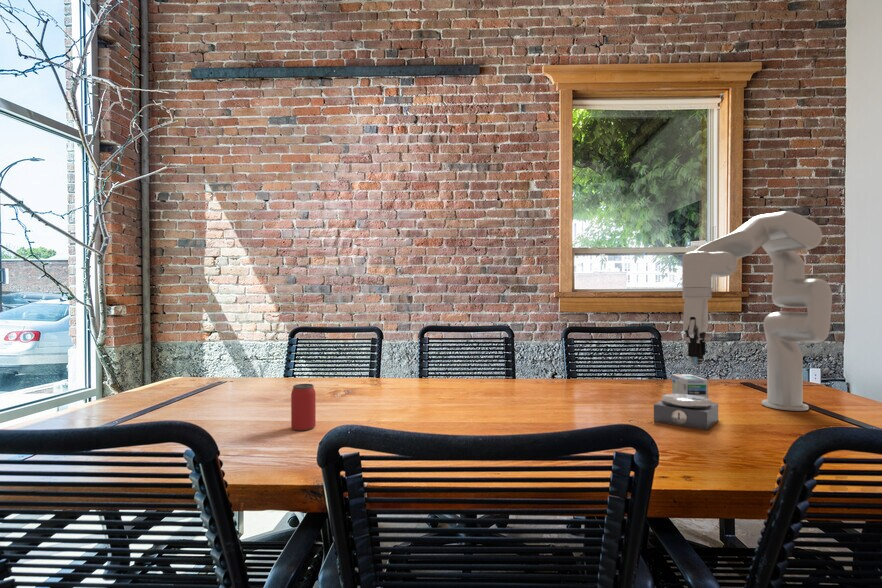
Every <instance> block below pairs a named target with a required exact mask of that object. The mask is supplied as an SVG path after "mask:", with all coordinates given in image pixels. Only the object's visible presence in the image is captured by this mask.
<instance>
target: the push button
mask: <svg viewBox="0 0 882 588" xmlns="http://www.w3.org/2000/svg"><path fill="white" fill-rule="evenodd" d="M694 332H698V330H695V331H694ZM684 333H685V335H686V338H688V337H689V333H688V332H684ZM706 334H707V332H706V331H705V332H702V333H700V340H702V338H705V339H706ZM688 357H689V356H688ZM688 361H689V363H691V364H694V365H702V364H703V361H704V355H702V351H701V357H689V360H688Z"/></svg>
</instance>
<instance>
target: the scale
mask: <svg viewBox="0 0 882 588" xmlns="http://www.w3.org/2000/svg"><path fill="white" fill-rule="evenodd" d="M718 421H719V403H718V402H712V401H711V406H710V407H705V408H689V407H680V406H674V405H670V404H667V403H664V402H663V401H662V399H661V400H659V401H657V402H656V403H654V404H653V422H655V423H656V422H657V423H661V424H667V425H673V426H678V427H679V426H680V427H685V428H690V429H697V430H703V431H709V430H710V428H711V427H713V425H715V424H716V423H717V422H718Z"/></svg>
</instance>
